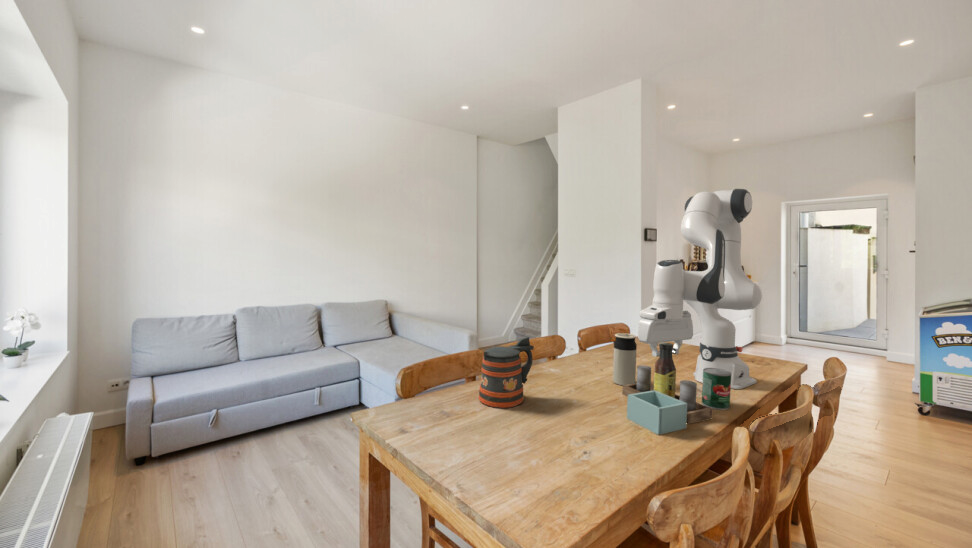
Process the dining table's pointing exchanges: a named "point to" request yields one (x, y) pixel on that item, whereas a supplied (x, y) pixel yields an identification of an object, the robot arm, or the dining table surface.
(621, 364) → the travel mug
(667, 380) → the sauce bottle
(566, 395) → the dining table surface
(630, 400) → the box
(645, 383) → the rack
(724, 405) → the canned tomato
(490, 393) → the beer stein
